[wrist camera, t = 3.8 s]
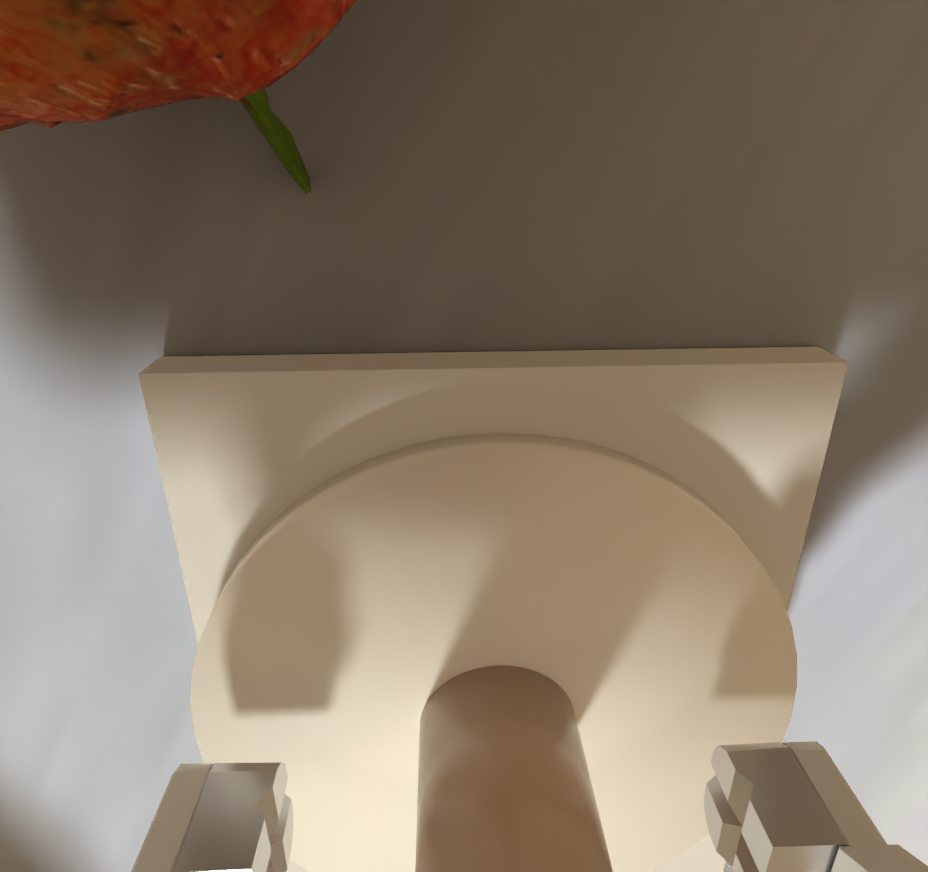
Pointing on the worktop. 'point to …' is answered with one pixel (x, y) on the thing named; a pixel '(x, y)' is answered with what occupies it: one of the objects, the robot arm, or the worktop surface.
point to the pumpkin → (155, 58)
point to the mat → (485, 412)
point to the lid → (494, 660)
